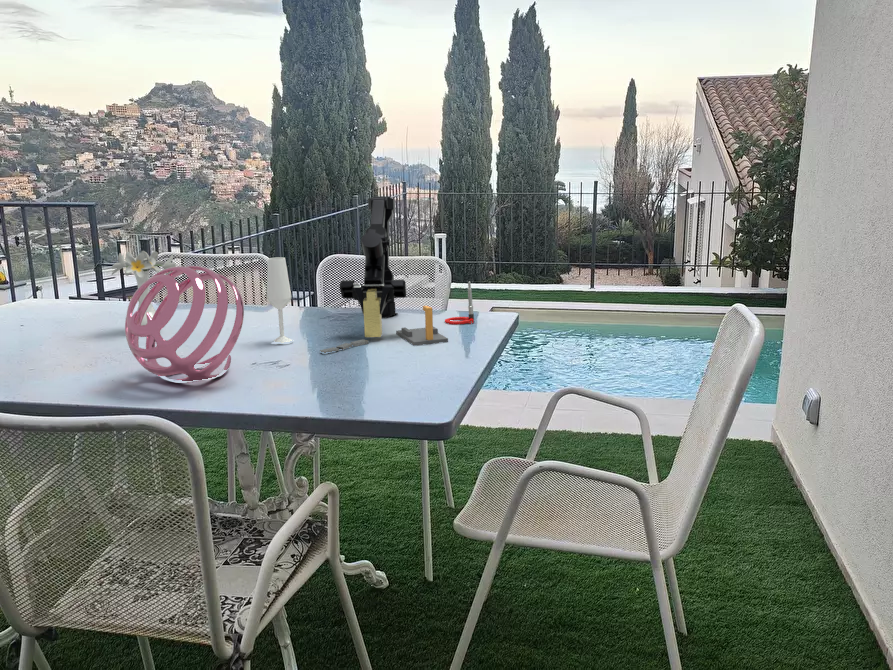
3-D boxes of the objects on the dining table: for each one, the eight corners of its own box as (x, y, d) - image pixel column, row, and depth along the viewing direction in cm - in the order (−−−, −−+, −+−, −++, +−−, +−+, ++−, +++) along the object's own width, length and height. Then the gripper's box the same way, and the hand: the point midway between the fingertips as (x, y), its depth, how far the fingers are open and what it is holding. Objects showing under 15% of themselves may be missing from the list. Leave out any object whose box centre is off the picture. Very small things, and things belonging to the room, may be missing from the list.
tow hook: (444, 326, 223) (473, 324, 223) (441, 285, 221) (471, 283, 220) (445, 320, 232) (474, 319, 231) (442, 281, 229) (472, 279, 228)
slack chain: (318, 353, 191) (318, 350, 191) (359, 341, 204) (359, 338, 204) (328, 355, 189) (328, 352, 189) (369, 343, 202) (369, 340, 201)
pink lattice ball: (226, 280, 190) (147, 230, 167) (294, 317, 175) (217, 267, 152) (168, 372, 186) (79, 332, 164) (231, 418, 171) (143, 381, 148)
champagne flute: (265, 343, 203) (258, 259, 198) (281, 338, 209) (275, 256, 204) (284, 346, 200) (277, 260, 195) (299, 340, 206) (293, 257, 201)
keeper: (396, 333, 212) (395, 300, 210) (427, 330, 216) (427, 297, 214) (414, 345, 198) (413, 310, 196) (448, 341, 202) (447, 306, 199)
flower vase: (188, 329, 224) (180, 248, 219) (132, 340, 210) (121, 255, 205) (165, 324, 232) (157, 246, 227) (110, 334, 218) (99, 252, 213)
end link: (366, 333, 208) (364, 289, 205) (382, 333, 208) (380, 288, 205) (364, 337, 203) (362, 292, 200) (380, 337, 203) (378, 291, 200)
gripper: (408, 284, 217) (406, 328, 209) (346, 285, 218) (343, 329, 210) (405, 262, 208) (404, 307, 200) (341, 263, 208) (337, 308, 200)
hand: (372, 313), depth 203 cm, fingers closed on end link, 4 cm apart
